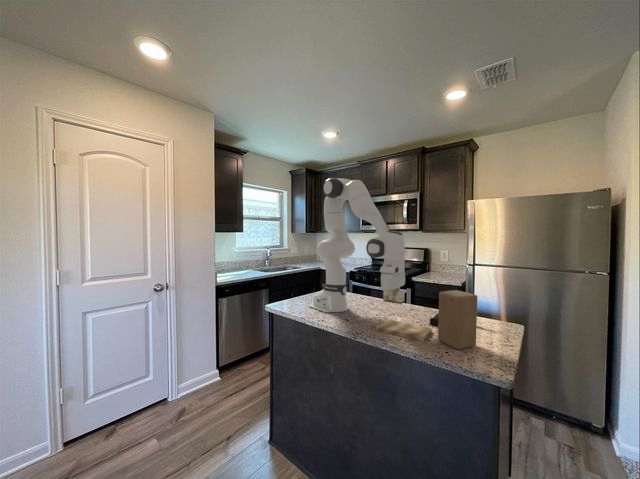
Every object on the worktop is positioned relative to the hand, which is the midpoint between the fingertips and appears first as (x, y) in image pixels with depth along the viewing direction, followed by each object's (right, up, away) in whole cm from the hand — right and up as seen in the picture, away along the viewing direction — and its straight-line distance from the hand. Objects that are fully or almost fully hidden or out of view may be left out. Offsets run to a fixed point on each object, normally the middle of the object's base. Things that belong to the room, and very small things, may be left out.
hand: (393, 298), depth 122 cm
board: (+4, -14, -2) cm, 15 cm away
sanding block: (0, -2, 0) cm, 2 cm away
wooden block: (+20, -15, -15) cm, 29 cm away
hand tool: (+25, -14, +13) cm, 32 cm away
